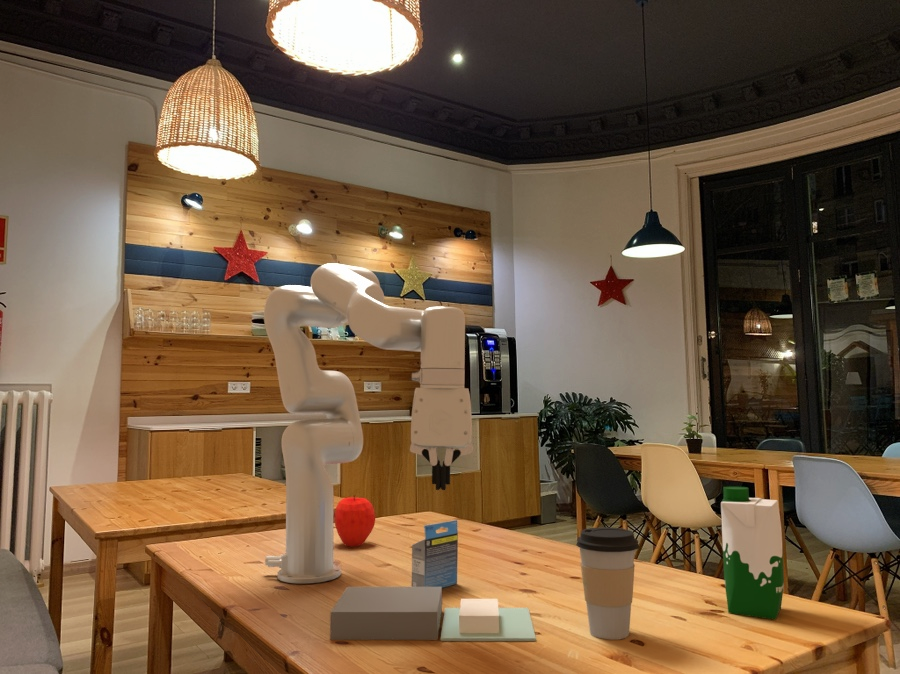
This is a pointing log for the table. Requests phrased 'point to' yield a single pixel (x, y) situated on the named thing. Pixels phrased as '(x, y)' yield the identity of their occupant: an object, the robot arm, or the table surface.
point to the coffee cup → (608, 579)
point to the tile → (479, 616)
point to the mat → (511, 628)
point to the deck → (387, 614)
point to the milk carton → (752, 554)
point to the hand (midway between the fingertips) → (440, 488)
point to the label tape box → (436, 557)
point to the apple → (354, 520)
